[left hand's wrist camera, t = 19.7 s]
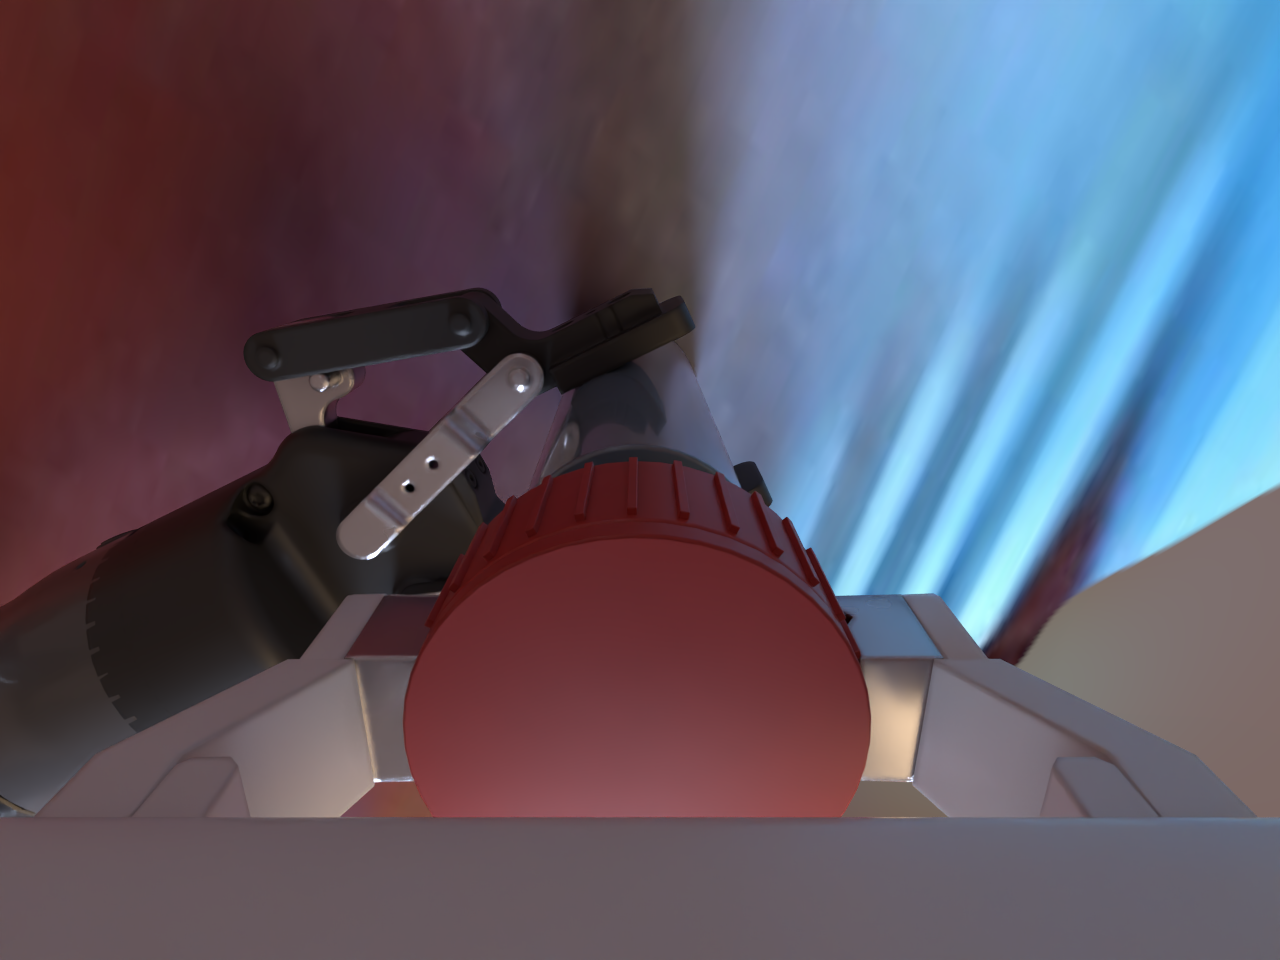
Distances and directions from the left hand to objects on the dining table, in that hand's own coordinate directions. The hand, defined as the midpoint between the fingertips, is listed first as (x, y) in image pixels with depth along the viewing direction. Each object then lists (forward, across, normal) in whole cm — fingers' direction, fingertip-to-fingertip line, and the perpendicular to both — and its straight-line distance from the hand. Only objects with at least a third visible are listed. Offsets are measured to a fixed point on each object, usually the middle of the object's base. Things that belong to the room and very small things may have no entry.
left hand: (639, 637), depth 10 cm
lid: (-2, 0, 0) cm, 2 cm away
